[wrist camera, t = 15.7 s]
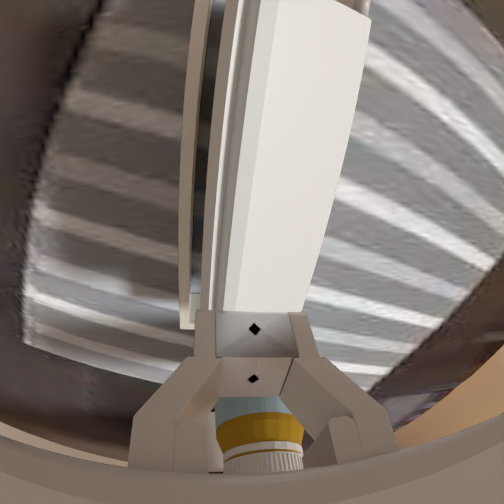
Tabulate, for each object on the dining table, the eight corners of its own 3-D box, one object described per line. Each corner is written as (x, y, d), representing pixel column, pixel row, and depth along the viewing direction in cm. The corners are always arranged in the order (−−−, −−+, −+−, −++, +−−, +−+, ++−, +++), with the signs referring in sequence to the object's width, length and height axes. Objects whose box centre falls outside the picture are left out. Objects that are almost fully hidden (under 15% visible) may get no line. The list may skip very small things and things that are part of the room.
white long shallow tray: (283, 302, 28) (291, 338, 25) (182, 299, 27) (179, 335, 24) (346, -3, 15) (374, -12, 11) (204, -26, 13) (200, -44, 10)
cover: (292, 310, 24) (305, 320, 23) (199, 364, 19) (211, 378, 18) (360, 18, 13) (381, 21, 12) (231, -33, 8) (257, -38, 7)
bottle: (208, 358, 32) (212, 498, 20) (220, 312, 28) (228, 478, 16) (273, 363, 34) (294, 494, 21) (293, 320, 30) (330, 472, 18)
